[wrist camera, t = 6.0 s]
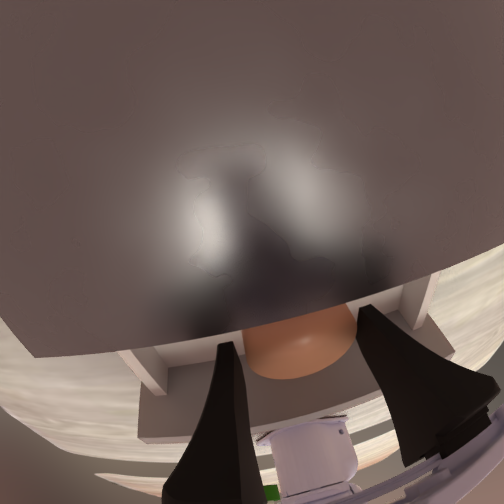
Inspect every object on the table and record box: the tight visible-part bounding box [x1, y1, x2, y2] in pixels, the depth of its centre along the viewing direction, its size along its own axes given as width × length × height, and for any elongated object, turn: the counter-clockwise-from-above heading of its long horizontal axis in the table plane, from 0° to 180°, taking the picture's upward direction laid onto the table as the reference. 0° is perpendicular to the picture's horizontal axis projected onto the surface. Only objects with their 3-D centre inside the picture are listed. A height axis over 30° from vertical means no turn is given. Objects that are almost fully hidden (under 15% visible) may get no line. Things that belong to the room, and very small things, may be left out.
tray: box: [117, 270, 455, 444], centre depth 12 cm, size 12×20×6 cm, turn 100°
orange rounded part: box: [241, 303, 357, 379], centre depth 13 cm, size 5×5×4 cm
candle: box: [263, 485, 280, 504], centre depth 56 cm, size 8×8×10 cm
